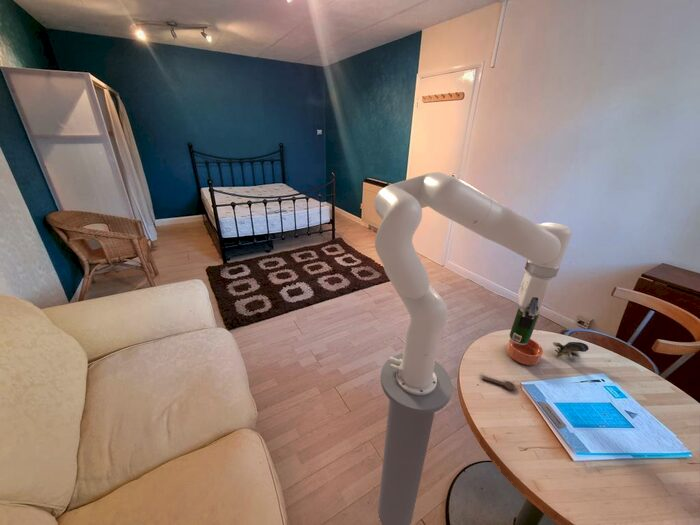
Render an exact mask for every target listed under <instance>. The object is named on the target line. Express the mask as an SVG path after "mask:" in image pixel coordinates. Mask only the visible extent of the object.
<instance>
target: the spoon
mask: <svg viewBox="0 0 700 525" xmlns="http://www.w3.org/2000/svg"><path fill="white" fill-rule="evenodd" d="M482 381H485V382H488V383H491V384H494V385H498V386H500V387H503V388H505V390H507V391H509V392H514V391H515V389H516V386H515V384H514V383H513V382H511V381H501V380H498V379H494V378H491V377H488V376H485V375H482Z"/></svg>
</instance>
